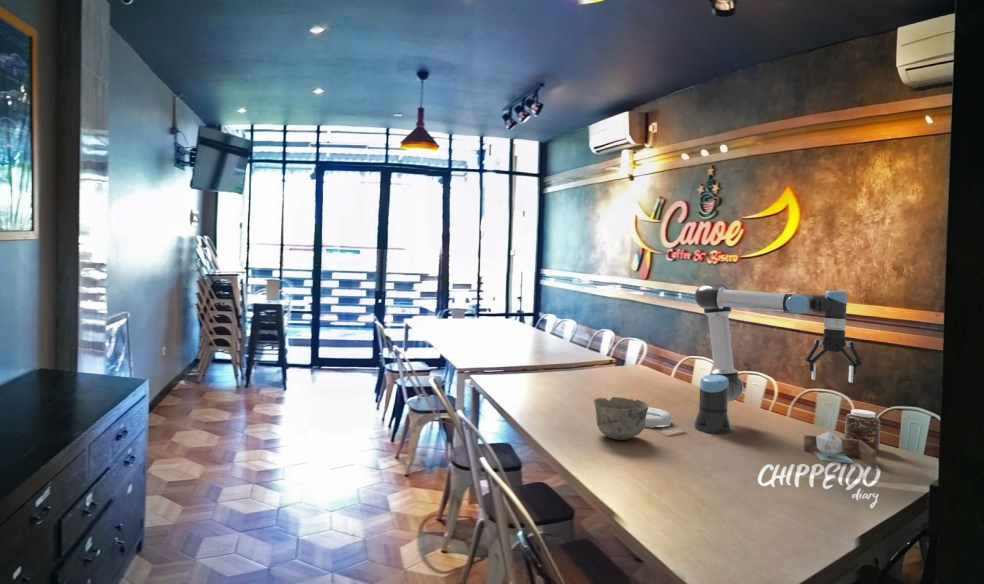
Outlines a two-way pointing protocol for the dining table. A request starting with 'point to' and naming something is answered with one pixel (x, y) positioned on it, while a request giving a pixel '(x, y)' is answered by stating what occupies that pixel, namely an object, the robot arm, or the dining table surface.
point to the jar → (863, 427)
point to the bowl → (620, 417)
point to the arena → (847, 449)
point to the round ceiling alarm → (657, 417)
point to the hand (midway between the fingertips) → (831, 380)
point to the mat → (834, 457)
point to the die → (829, 443)
